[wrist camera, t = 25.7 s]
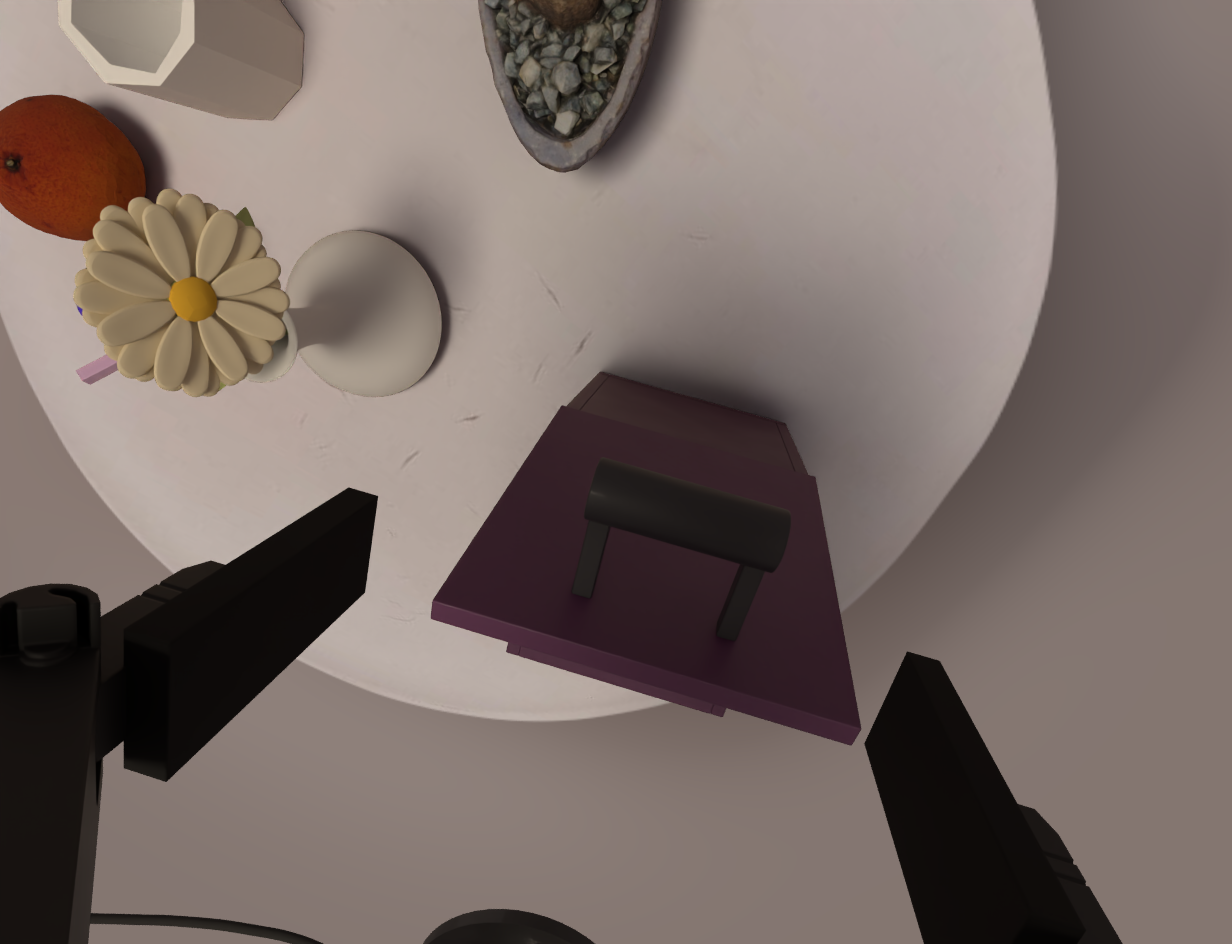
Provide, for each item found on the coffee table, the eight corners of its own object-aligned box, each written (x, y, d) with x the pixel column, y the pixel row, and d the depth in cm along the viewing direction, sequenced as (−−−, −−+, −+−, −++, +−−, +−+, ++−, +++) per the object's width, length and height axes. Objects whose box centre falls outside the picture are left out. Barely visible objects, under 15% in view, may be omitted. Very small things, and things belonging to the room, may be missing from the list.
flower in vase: (413, 420, 51) (156, 561, 27) (280, 344, 50) (-99, 420, 27) (486, 262, 47) (255, 266, 23) (340, 177, 46) (-46, 93, 23)
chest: (720, 611, 52) (722, 718, 40) (552, 562, 53) (505, 652, 41) (786, 423, 47) (811, 480, 35) (599, 371, 48) (562, 409, 36)
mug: (325, 24, 43) (220, -39, 34) (277, 150, 46) (168, 123, 37) (161, -84, 43) (9, -178, 34) (123, 50, 46) (-28, -2, 36)
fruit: (175, 128, 47) (71, 103, 39) (165, 256, 50) (66, 256, 42) (57, 89, 47) (-68, 57, 39) (54, 219, 50) (-63, 212, 42)
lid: (851, 746, 21) (937, 603, 18) (429, 619, 21) (447, 462, 18) (810, 489, 35) (854, 388, 32) (559, 418, 36) (580, 312, 33)
